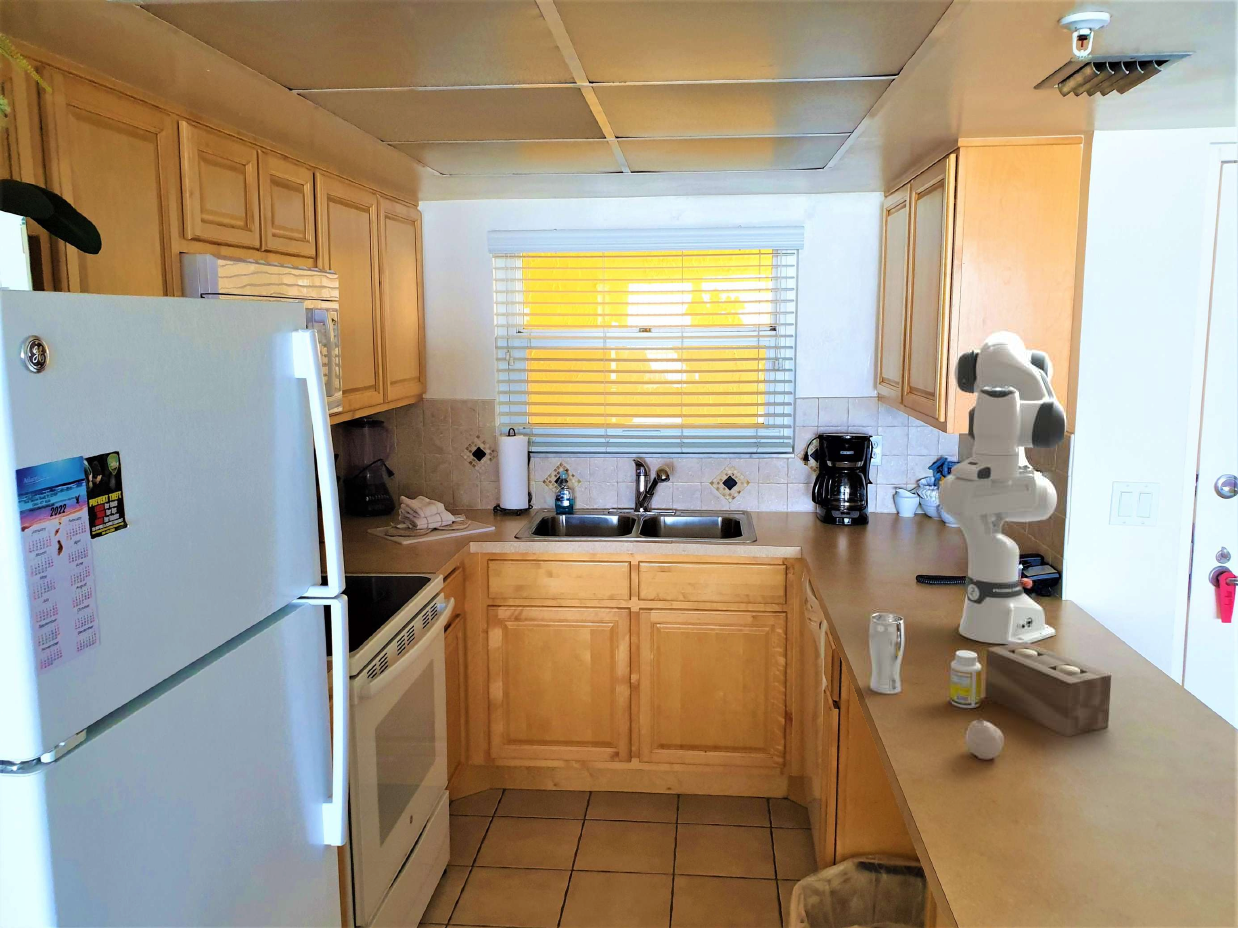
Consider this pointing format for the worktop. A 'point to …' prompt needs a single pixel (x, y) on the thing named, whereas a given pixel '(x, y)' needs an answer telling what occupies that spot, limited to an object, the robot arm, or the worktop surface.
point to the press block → (1048, 689)
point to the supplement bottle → (965, 680)
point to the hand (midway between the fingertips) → (992, 534)
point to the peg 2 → (1068, 670)
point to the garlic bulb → (984, 739)
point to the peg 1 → (1026, 653)
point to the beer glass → (886, 651)
